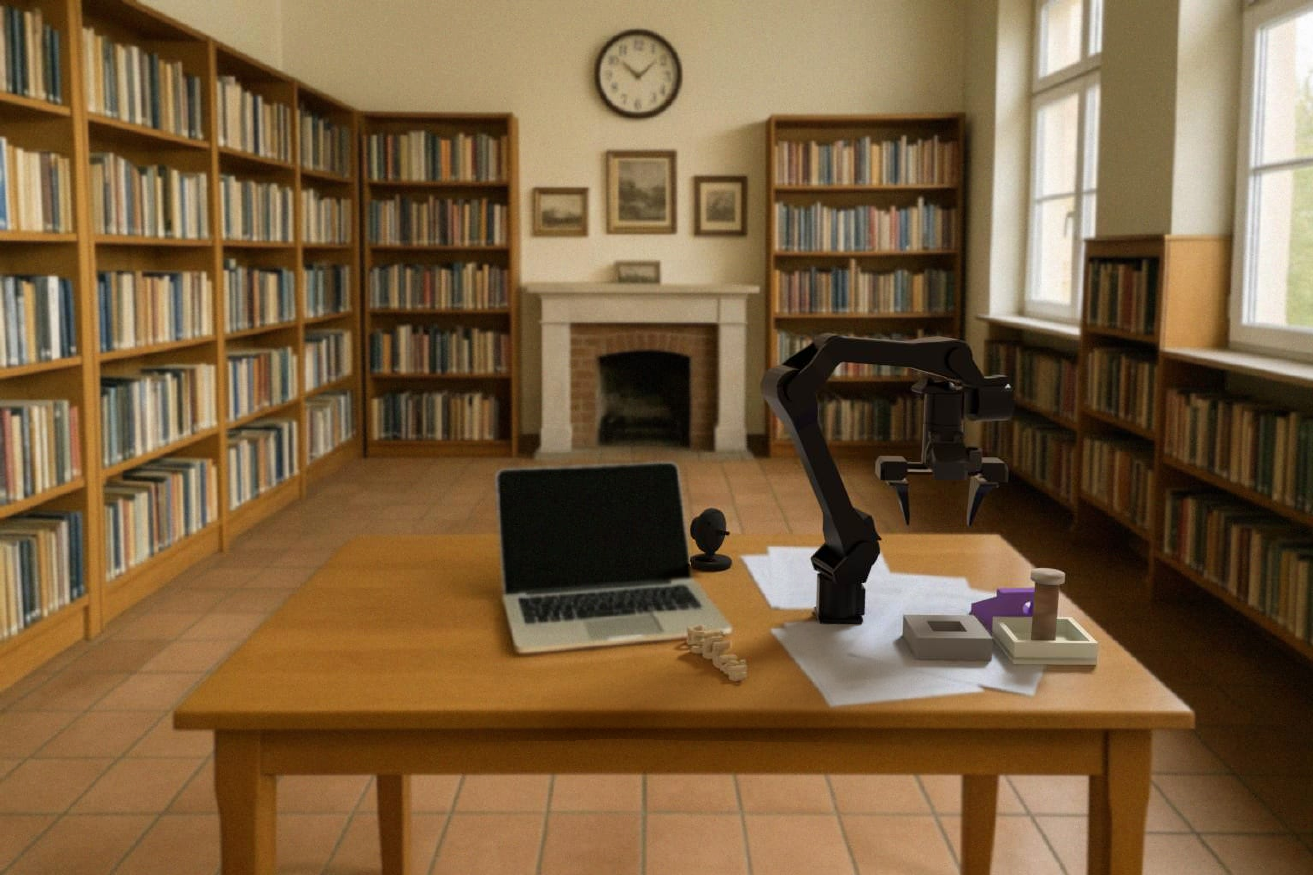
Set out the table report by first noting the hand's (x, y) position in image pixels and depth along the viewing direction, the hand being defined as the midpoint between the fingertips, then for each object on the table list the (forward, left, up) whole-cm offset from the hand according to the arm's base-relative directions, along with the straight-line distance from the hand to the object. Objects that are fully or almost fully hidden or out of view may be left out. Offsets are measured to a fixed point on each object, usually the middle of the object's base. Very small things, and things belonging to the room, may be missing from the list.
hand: (938, 525), depth 184 cm
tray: (+11, -19, -13) cm, 25 cm away
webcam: (-33, +23, -13) cm, 43 cm away
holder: (-2, -18, -13) cm, 22 cm away
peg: (+11, -19, -12) cm, 25 cm away
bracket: (+9, -7, -14) cm, 18 cm away
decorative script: (-34, -24, -14) cm, 43 cm away
